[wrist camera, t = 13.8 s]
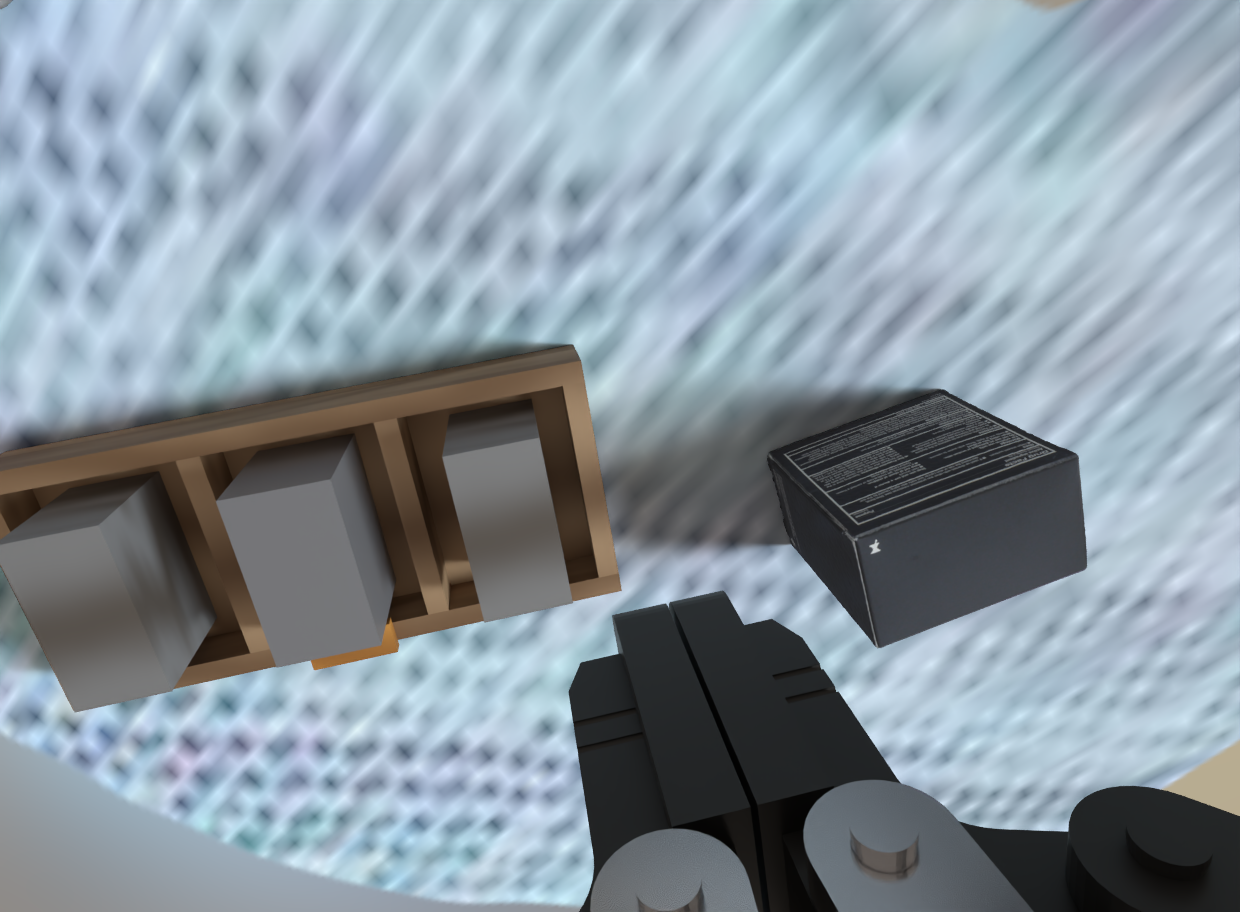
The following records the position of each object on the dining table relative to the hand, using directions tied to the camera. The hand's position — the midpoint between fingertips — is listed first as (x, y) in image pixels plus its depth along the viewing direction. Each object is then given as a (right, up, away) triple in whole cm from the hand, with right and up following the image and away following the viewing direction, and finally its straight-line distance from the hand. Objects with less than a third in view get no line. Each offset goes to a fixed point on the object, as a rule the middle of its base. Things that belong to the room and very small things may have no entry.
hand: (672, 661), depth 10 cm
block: (-15, 0, +28) cm, 32 cm away
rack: (-15, 0, +29) cm, 32 cm away
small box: (+13, +2, +33) cm, 35 cm away
